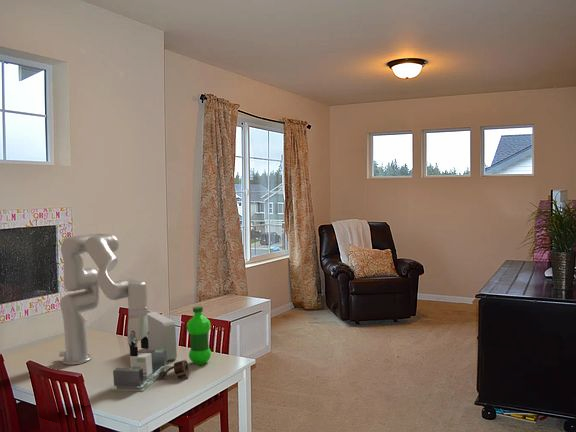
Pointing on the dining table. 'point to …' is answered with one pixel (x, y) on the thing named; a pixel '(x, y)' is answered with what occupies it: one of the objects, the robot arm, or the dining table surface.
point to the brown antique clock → (177, 370)
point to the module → (142, 362)
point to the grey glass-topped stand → (140, 373)
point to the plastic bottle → (199, 337)
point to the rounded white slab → (162, 334)
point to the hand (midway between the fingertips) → (139, 352)
